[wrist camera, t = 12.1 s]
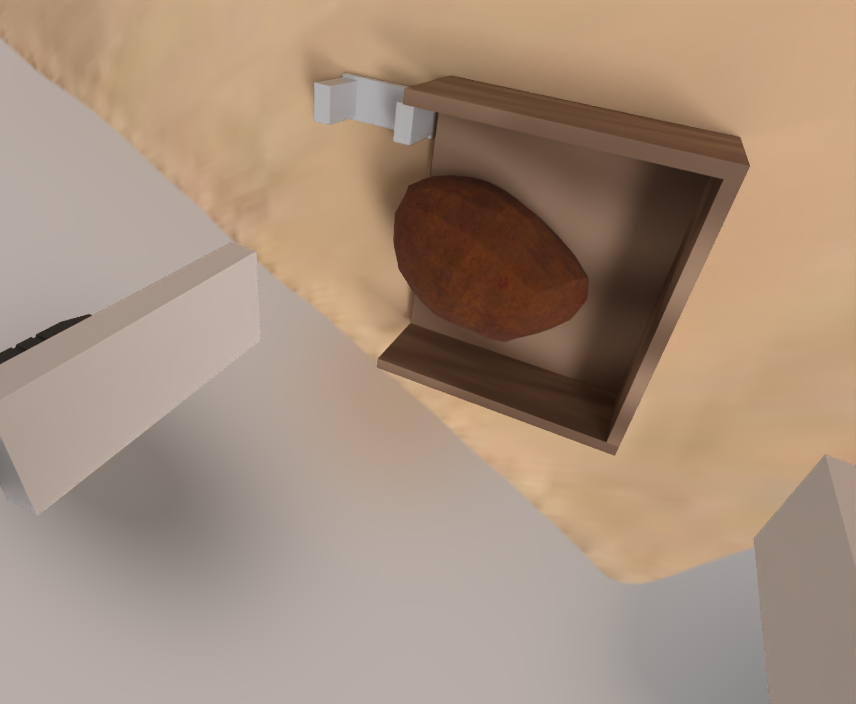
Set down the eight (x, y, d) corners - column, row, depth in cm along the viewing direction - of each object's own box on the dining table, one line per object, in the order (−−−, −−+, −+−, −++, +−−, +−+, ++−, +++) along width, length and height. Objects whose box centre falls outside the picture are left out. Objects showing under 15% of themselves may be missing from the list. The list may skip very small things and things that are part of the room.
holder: (451, 75, 30) (404, 88, 25) (740, 137, 26) (750, 165, 22) (416, 323, 40) (377, 367, 35) (625, 395, 36) (614, 455, 31)
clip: (347, 72, 32) (314, 78, 30) (440, 93, 31) (414, 101, 28) (345, 115, 34) (314, 124, 31) (434, 137, 32) (409, 149, 30)
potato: (548, 340, 35) (516, 412, 29) (399, 240, 35) (336, 290, 29) (624, 246, 30) (606, 308, 24) (451, 133, 31) (389, 164, 24)
